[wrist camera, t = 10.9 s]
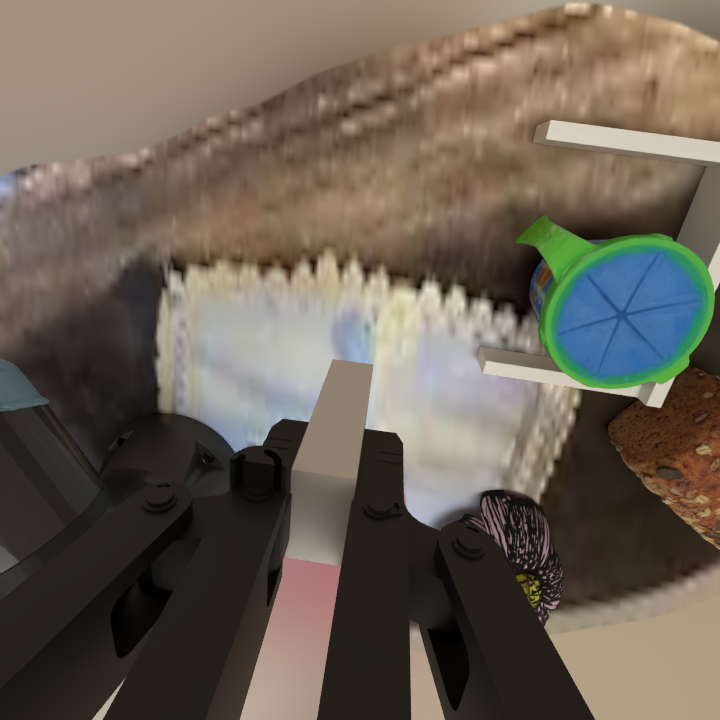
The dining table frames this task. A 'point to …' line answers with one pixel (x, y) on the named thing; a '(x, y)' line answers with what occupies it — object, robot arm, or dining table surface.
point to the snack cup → (618, 305)
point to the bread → (678, 448)
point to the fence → (698, 233)
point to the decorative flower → (523, 546)
